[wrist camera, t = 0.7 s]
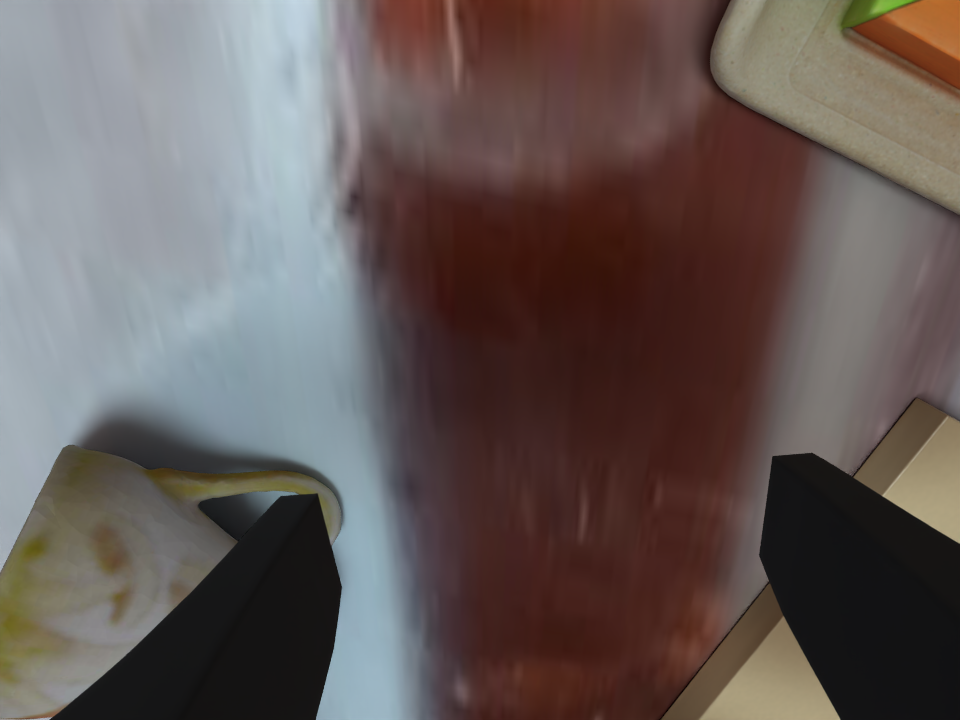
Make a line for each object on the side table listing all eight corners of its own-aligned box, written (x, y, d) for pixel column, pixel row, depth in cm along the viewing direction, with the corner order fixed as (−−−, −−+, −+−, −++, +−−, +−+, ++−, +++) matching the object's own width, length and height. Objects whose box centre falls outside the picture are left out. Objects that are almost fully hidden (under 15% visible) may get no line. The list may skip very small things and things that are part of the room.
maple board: (875, 873, 29) (896, 911, 28) (614, 776, 27) (623, 812, 25) (1199, 555, 24) (1245, 581, 23) (916, 396, 22) (948, 415, 20)
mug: (305, 671, 25) (22, 920, 16) (159, 476, 26) (-166, 606, 18) (411, 571, 21) (123, 821, 12) (234, 354, 23) (-124, 442, 14)
